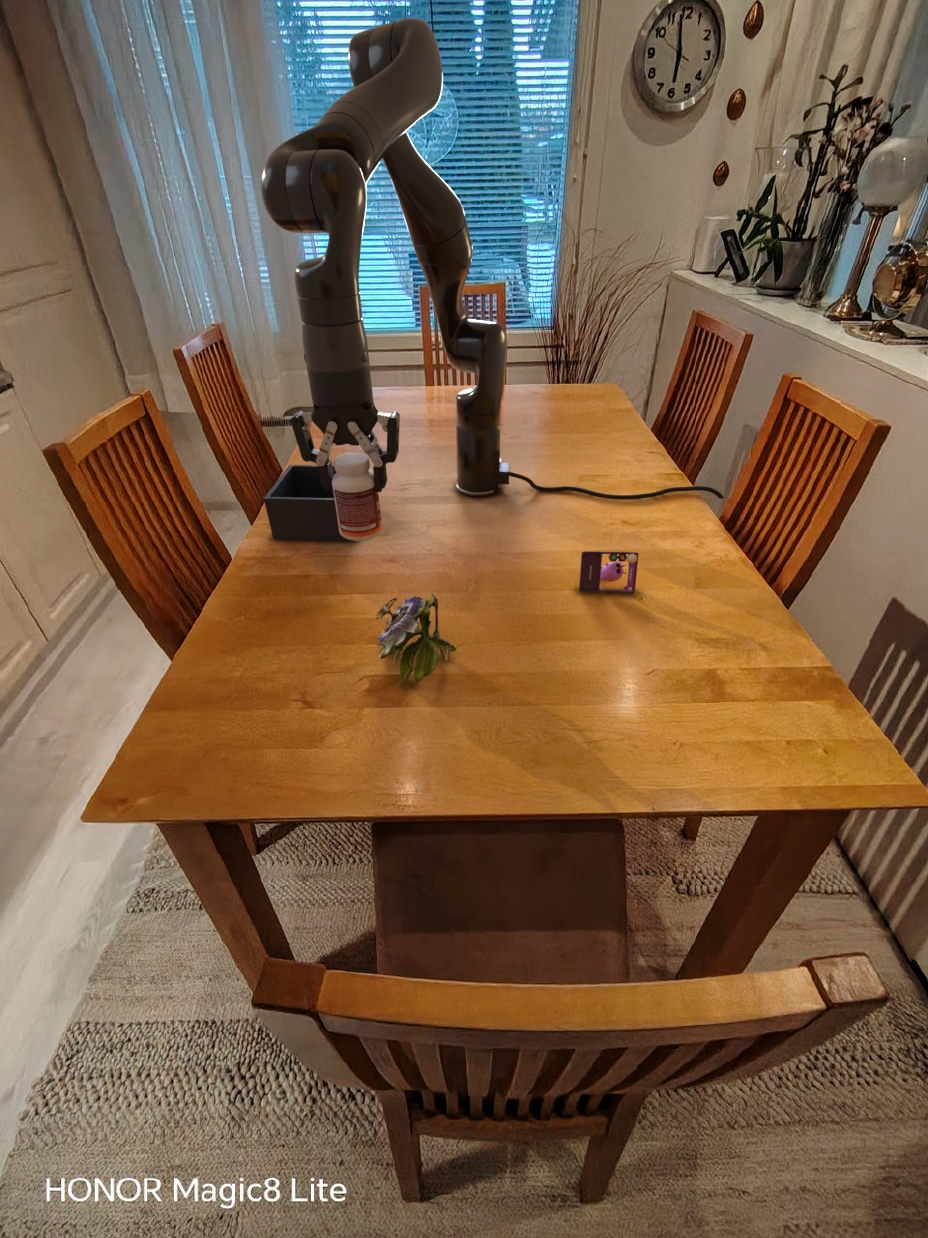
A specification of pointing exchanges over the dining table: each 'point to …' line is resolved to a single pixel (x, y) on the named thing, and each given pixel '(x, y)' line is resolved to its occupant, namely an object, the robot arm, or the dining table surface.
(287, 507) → the open storage bin
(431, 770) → the dining table surface
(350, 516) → the pill bottle
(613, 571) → the game card
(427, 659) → the passion flower
